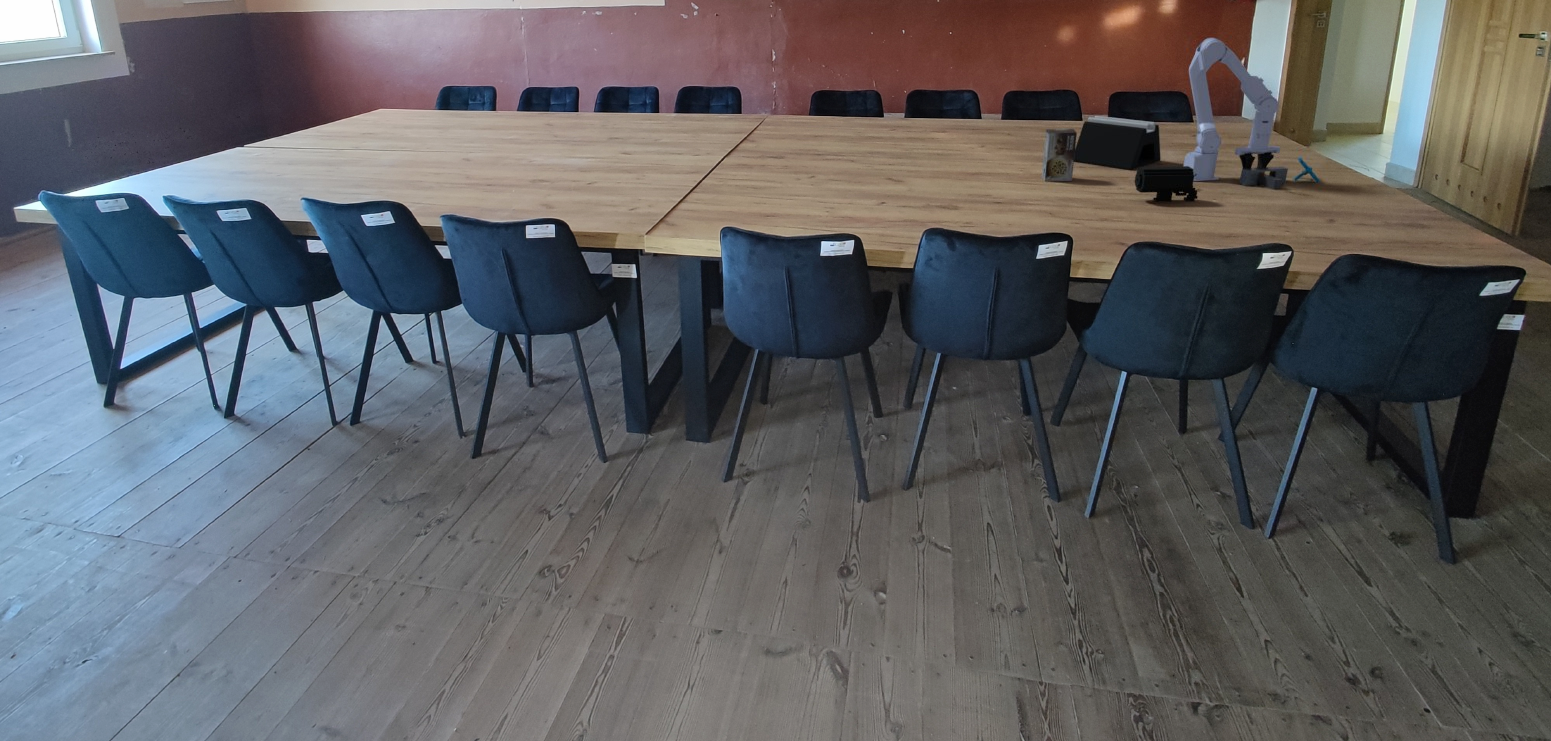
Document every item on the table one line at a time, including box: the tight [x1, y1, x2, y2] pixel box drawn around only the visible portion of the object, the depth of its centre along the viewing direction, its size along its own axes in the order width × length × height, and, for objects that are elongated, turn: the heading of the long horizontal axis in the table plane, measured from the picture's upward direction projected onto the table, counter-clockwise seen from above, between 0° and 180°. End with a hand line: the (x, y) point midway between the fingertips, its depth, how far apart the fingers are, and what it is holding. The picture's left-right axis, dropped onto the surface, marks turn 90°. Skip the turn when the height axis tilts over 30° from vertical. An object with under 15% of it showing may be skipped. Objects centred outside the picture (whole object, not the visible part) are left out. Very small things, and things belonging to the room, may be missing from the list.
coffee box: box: [1041, 128, 1078, 182], centre depth 303 cm, size 9×6×16 cm
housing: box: [1238, 166, 1289, 187], centre depth 294 cm, size 14×3×5 cm, turn 98°
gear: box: [1293, 157, 1320, 183], centre depth 297 cm, size 11×6×10 cm
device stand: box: [1074, 115, 1161, 171], centre depth 328 cm, size 22×22×15 cm
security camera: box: [1134, 165, 1198, 203], centre depth 275 cm, size 7×18×10 cm, turn 89°
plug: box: [1256, 172, 1283, 190], centre depth 294 cm, size 15×4×4 cm, turn 8°
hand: (1252, 176), depth 299 cm, fingers closed on plug, 4 cm apart
